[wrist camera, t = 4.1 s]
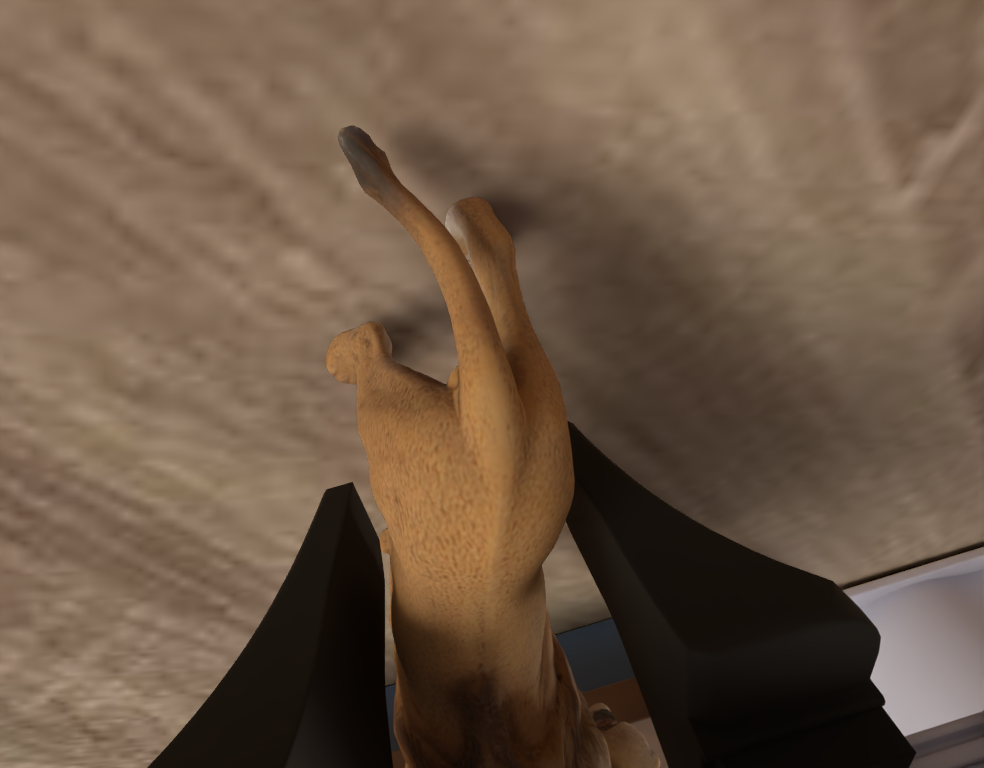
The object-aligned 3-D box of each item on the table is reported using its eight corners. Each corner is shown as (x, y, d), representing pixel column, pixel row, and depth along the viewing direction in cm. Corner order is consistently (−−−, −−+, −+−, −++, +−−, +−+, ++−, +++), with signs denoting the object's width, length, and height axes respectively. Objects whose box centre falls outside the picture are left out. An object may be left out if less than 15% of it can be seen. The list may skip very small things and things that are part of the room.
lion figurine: (564, 568, 19) (717, 908, 12) (410, 622, 19) (473, 1012, 12) (474, 87, 11) (801, 253, 4) (189, 160, 10) (-92, 528, 3)
